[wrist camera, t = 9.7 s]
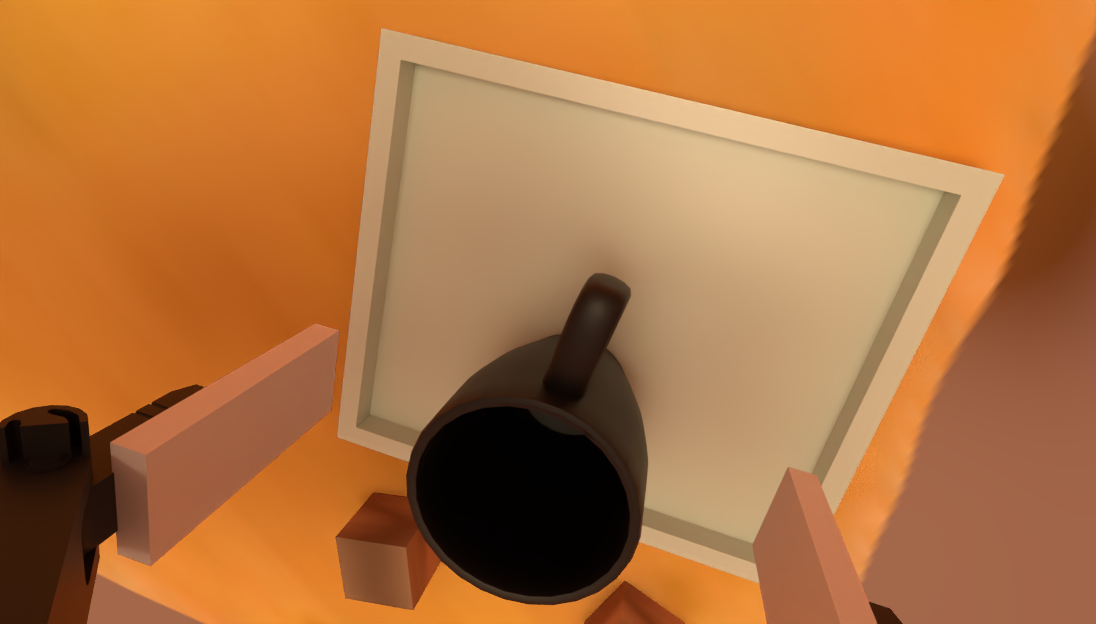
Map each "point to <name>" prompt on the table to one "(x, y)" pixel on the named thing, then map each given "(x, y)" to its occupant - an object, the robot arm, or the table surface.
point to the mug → (538, 464)
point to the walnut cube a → (385, 554)
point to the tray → (647, 272)
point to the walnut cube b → (631, 609)
